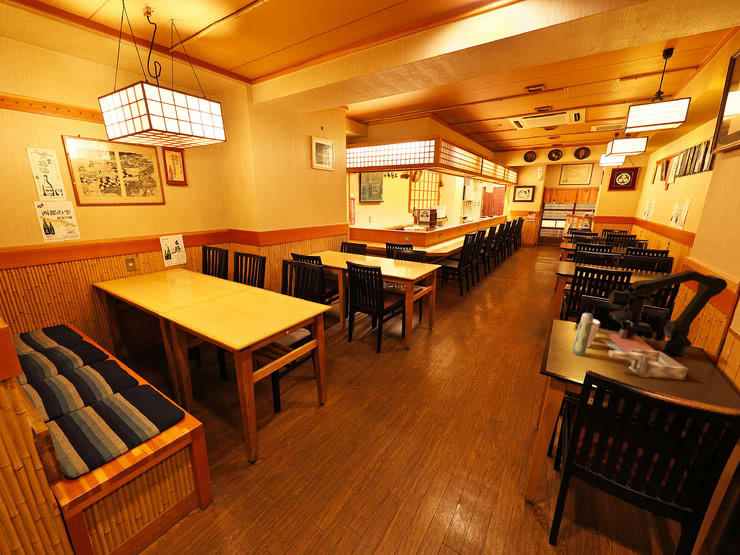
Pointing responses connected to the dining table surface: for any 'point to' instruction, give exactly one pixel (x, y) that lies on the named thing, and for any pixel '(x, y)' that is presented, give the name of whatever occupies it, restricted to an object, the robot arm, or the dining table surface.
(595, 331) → the white cup
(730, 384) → the dining table surface
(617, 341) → the lid
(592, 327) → the can
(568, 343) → the dining table surface
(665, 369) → the toolbox
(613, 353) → the tan wooden bar
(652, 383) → the dining table surface
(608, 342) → the mat
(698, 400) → the dining table surface
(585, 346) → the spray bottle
